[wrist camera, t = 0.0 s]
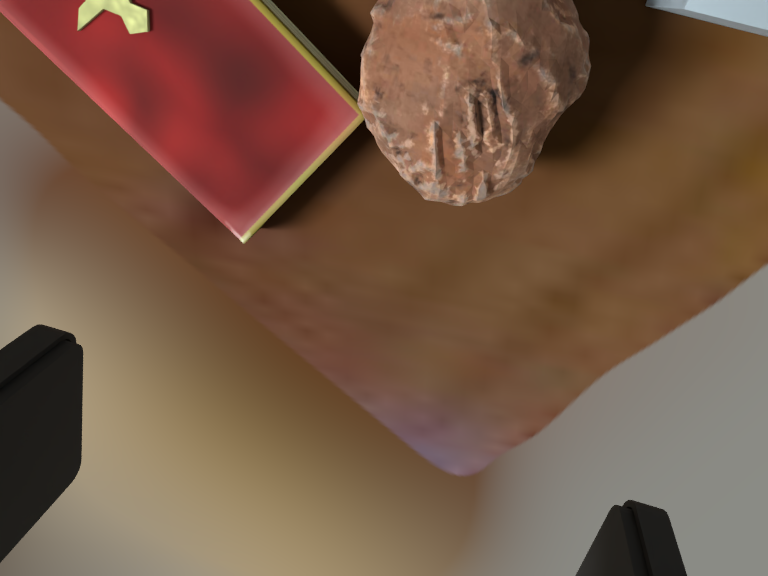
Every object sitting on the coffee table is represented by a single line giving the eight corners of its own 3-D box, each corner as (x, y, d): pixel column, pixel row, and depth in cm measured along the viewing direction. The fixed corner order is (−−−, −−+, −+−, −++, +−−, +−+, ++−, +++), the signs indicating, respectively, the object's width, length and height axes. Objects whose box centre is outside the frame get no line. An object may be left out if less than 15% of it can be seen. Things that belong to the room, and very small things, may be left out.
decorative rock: (421, -95, 34) (391, -126, 25) (618, -25, 34) (658, -31, 25) (352, 137, 40) (308, 178, 31) (521, 198, 40) (525, 257, 31)
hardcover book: (261, 227, 44) (238, 249, 41) (17, -8, 41) (-33, -8, 37) (380, 104, 40) (367, 115, 36) (117, -176, 36) (71, -196, 32)
